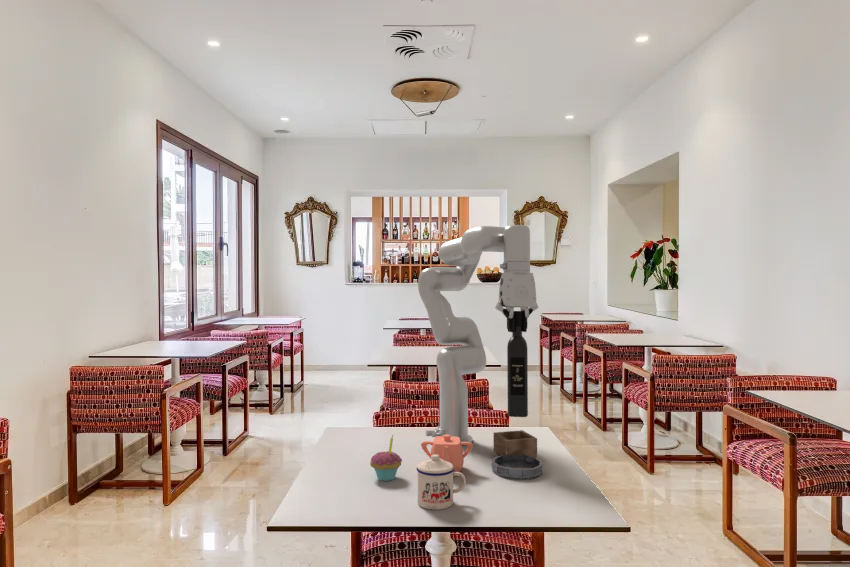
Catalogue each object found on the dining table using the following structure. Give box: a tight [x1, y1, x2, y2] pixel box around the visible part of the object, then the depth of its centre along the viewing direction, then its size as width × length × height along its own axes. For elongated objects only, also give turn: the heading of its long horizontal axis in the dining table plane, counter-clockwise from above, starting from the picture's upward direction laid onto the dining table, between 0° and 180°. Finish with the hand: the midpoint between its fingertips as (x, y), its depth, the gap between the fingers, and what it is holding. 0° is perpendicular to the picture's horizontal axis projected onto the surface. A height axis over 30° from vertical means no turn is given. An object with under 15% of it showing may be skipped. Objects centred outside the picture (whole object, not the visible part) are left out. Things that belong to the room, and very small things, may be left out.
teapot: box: [420, 434, 474, 472], centre depth 163 cm, size 14×12×10 cm
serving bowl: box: [491, 454, 543, 480], centre depth 163 cm, size 14×14×3 cm
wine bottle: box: [506, 310, 529, 418], centre depth 165 cm, size 6×6×30 cm
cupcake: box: [369, 434, 403, 482], centre depth 157 cm, size 9×8×12 cm
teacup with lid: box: [416, 454, 467, 511], centre depth 139 cm, size 12×9×12 cm
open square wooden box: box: [493, 429, 538, 458], centre depth 178 cm, size 10×10×6 cm
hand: (517, 331), depth 166 cm, fingers closed on wine bottle, 3 cm apart
